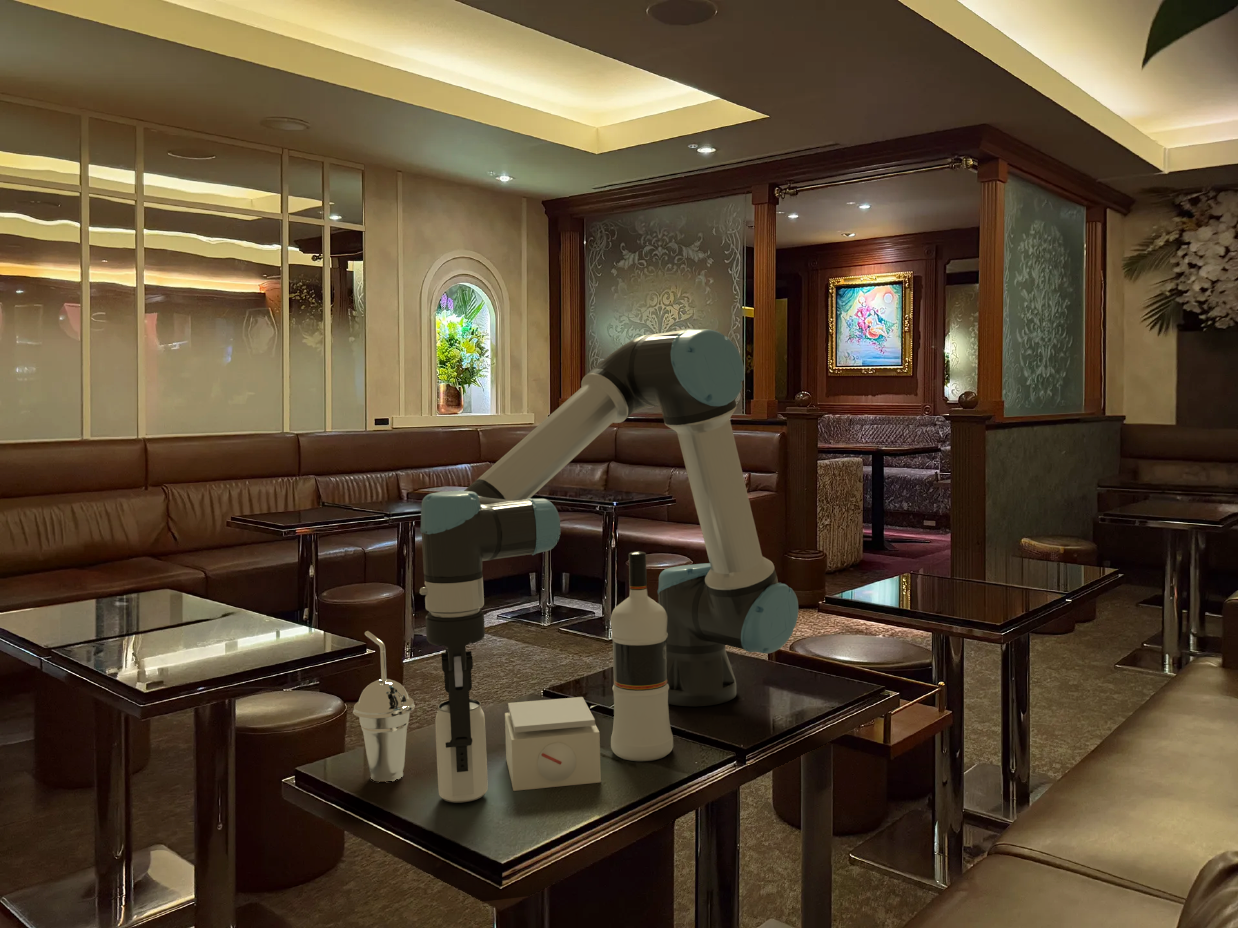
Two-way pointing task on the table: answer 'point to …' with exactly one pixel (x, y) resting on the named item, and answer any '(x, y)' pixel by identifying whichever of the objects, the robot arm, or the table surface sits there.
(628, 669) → the vodka
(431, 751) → the table surface
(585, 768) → the scale
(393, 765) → the cup with straw
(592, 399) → the robot arm
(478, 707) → the can
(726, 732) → the table surface
